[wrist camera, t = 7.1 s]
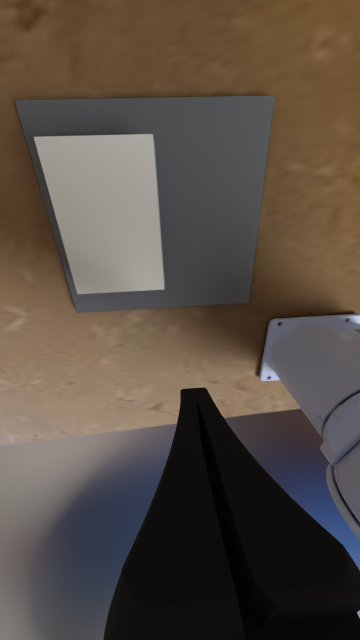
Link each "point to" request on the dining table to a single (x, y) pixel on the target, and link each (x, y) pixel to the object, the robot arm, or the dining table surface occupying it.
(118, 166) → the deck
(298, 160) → the dining table surface
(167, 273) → the mat
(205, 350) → the dining table surface
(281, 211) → the dining table surface
